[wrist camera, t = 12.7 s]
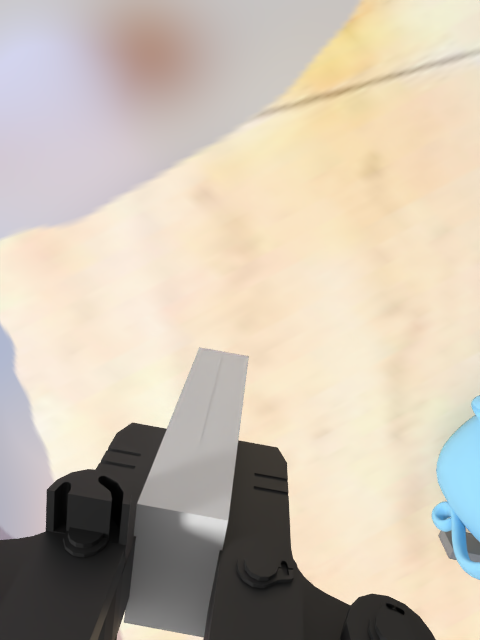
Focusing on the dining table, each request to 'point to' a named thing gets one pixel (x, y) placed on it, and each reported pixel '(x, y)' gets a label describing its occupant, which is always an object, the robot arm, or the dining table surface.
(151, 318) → the dining table surface
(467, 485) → the decorative pot
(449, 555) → the grey piece
